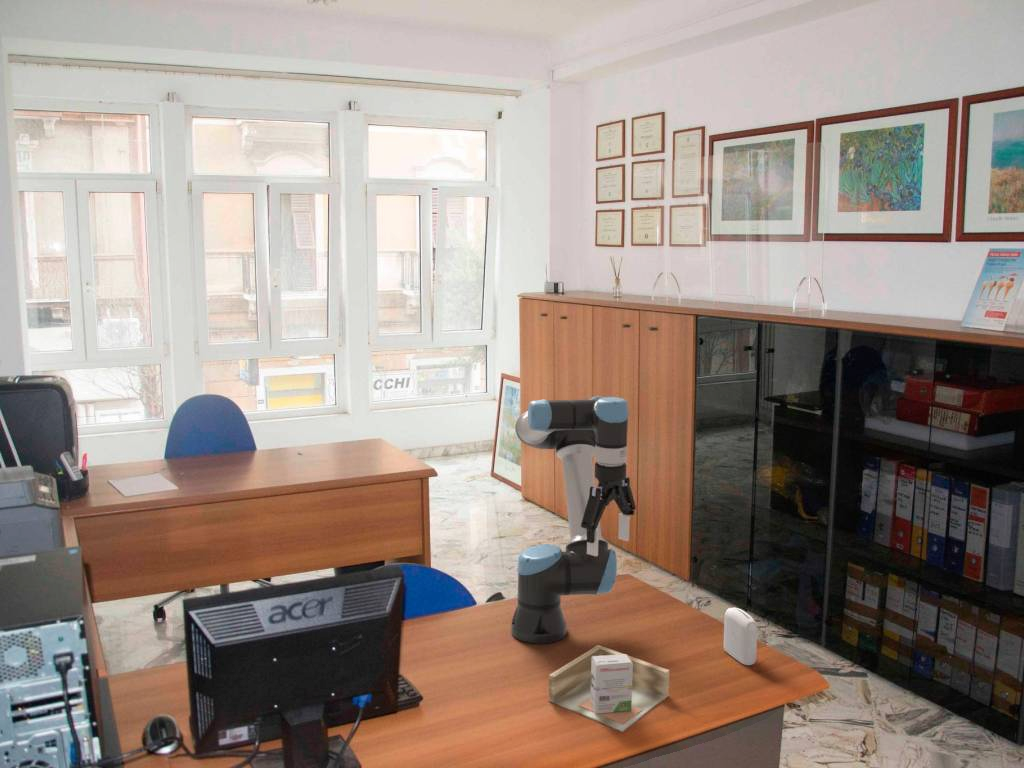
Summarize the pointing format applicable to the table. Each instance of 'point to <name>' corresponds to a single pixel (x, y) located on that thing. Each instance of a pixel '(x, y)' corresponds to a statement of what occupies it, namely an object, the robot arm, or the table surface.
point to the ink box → (611, 683)
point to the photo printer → (740, 636)
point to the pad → (614, 713)
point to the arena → (575, 686)
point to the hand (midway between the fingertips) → (608, 547)
